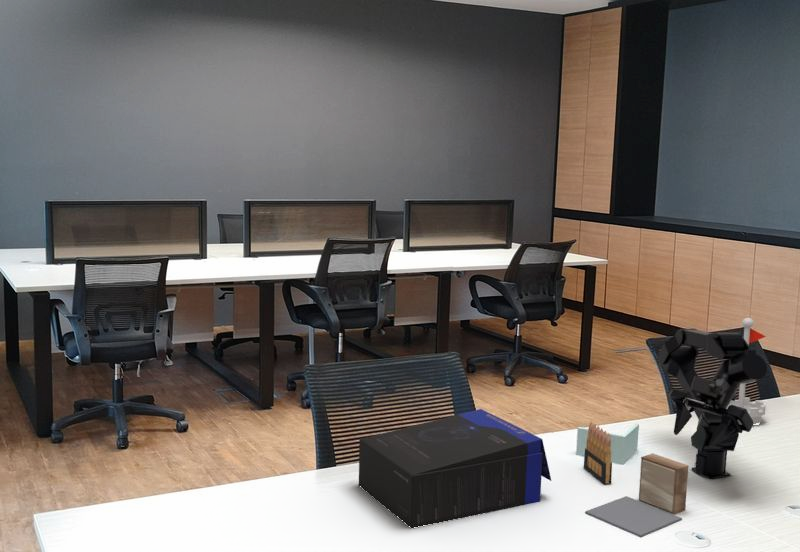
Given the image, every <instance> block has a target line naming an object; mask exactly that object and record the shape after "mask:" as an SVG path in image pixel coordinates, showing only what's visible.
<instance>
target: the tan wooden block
mask: <svg viewBox="0 0 800 552" xmlns="http://www.w3.org/2000/svg"><path fill="white" fill-rule="evenodd" d="M640 461H641V462H640V476H639V488H638V489H639V491H638V492H639V493H638V501H640V502H643V503H645V504H648V505H650V506H653V507H655V508H658V509H661V510H663V511H666V512H668V513H671V514H673V515H677V514H679V513H681V512H684V511H686V508H687V493H688V492H687V491H688V478H689V467H690V466H689V465H688V464H685V463H682V462H680V461H676V460H674V459H671V458H668V457H665V456H661V455H659V454H656V453H649V454H647V455H643V456H641V460H640Z"/></svg>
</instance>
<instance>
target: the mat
mask: <svg viewBox="0 0 800 552" xmlns="http://www.w3.org/2000/svg"><path fill="white" fill-rule="evenodd" d="M584 513H585V514H586V515H588V516H591V517H593V518H595V519H598V520H600V521H603V522H604V523H607V524H610V525H611V526H614V527H616V528H618V529H621V530H623V531H625V532H628V533H631V535H635V536H637V537H640V538H642V537H644V536H646V535H649V534H652V533H654V532H657V531H659V530H661V529H663V528H666V527H668V526H671V525H673V524H675V523H677V522H680V521H682V520H683V517H680V516H678V515H677V514H675V515H674V514H671V513H669V512H666V511H664V510H661V509H659V508H656V507H654V506H651V505H648V504H646V503H643V502H641V501H639V499H638V500H637V499H634V498H633V497H630V496H627V495H626V496H622V497H621V498H617V499H614V500H612V501H609V502H606V503H604V504H601V505H599V506H596V507H593V508H590V509H587V510H585V512H584Z"/></svg>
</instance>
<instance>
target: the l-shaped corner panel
mask: <svg viewBox="0 0 800 552" xmlns="http://www.w3.org/2000/svg"><path fill="white" fill-rule="evenodd" d="M588 429H589V427H588V428H587V427H583V426H579V427H577V433H576V451H575V455H576V456H579V457H584V456H585V448H586V445H587V436H588ZM639 429H640V424H638V423H635V424H633V426H631V427H630V428H629V429H628V430H627V431H626V432H624V434H617V433H613V432H608V431H606V433H607V435H608V433H609V434H610V437H611V463H612V464H613V463H614V464H618V465H625V464H626V462H628V461H629V460H630V459H631V458H632V457H633V456H634V455H635V453H637V452H638V447H639V445H638V443H639ZM603 433H604V431H603Z"/></svg>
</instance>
